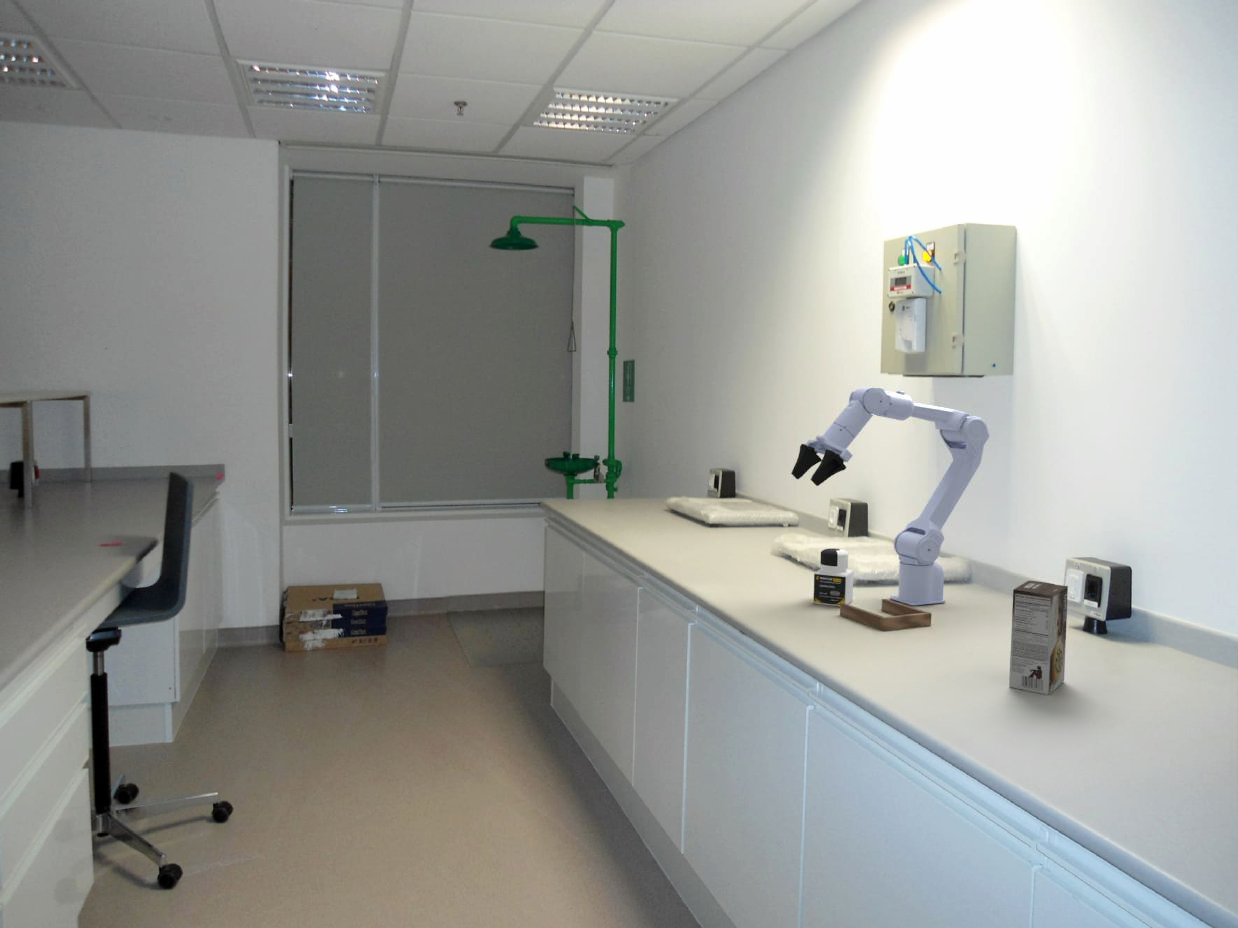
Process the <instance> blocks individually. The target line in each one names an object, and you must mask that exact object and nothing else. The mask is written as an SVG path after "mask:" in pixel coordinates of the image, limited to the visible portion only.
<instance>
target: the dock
mask: <svg viewBox="0 0 1238 928" xmlns="http://www.w3.org/2000/svg"><path fill="white" fill-rule="evenodd" d="M882 610H883V611H882ZM881 611H882V612H884V611H885V613H887V614H890V613H891V616H882V615H879V614H877V613H874V612H872V611H868V610H866V609H862V608H860V607H856V606H854V605H851V604H845V603H840V606H839V616H841V617H843V618H846V619H850V620H853V621H854V622H858V623H861V624H863V625H866V626H869V627H872V628H874V629H877V630H880V631H882V632H886V631H893V630H894V631H895V630H902V629H904V630H905V629H912V628H921V627H928V626H932V612H928V611H925V610H923V609H920V608H916V607H914V606H911V605H910V606H909V605H908V604H905V603H901V602H898V601H897V602H896V601H895V600H892V599H887V598H882V599H881ZM896 615H897V616H896Z"/></svg>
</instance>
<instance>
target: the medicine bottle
mask: <svg viewBox="0 0 1238 928" xmlns="http://www.w3.org/2000/svg"><path fill="white" fill-rule="evenodd" d="M819 566H820V569H818V570H816V571H815V572H814V576H813V604H814V603H815V604H816V605H823V606H832V607H840V603H845V604H848V605H850V603H851V602H853V597H854V596H853V595H854V594H853V593H854V570H852V569H848V568H849V552H848V551H847V550H845V549H842V548H825V549H823V550H821V551H820V564H819Z"/></svg>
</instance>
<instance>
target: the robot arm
mask: <svg viewBox="0 0 1238 928" xmlns="http://www.w3.org/2000/svg"><path fill="white" fill-rule="evenodd" d="M905 393H906V392H905V391H902V390H896V392H893V391H888V390H885V388H883V387H860V388H857V389H856V390H854V391H851V392H850V394H849V397H848V398H849V399H848V404H847V405H846V407H845V408H844V409H843V410H842V411H841V413H840V414H839V415H838V416H837V417H836V418H835V420H834V421H833V422H832V423H831V425H830V426H829V427H828V429H826V431H825V432H824V434H823V435H816V437H815V439H812V440H811V439H808V441H807V442H805V443H801V445H800V446H799V453H798V457H797V460H796V462H795V464H794V466H793V468H792V470H791V475H792V477H793V478H795V479H796V480H800V479H801V478H802V477H803V476H804V475H805V474H806V473H807V472H808V471H809V470H810V469H811V468H812V467H813V466H815V465H816V464H819V463H820V464H819V465H818V467H817V468H816V470H815V471H814V473H813V474H812V476H811V478H810V481H811V482H812V483H813V484H814V485H815V486H816V487H818V486H820V485H821V484H823V483H824V482H825V481H827V480H828V479H829V478H831V477H832V476H834V475H836V474H838V473H840V472H843V471H845V470H846V469H847V466H846V465H845V463H848V462H849V461H851V458H852V457H853V454H852V453H851V451H850V450H848V447H849V446H850V445H851V444H852V443H853V441H854V440H855V439H856V438H857V436H858V435H859V434H860V432H861V431H862V430H863V429H864V427H865V426H866V425H867V424H868V422H869V421H870V420H871V419H872V417H874V416H877V417H882V418H887V419H892V420H897V421H902V422H903V421H906V420H907V419H909V418H911V417H912V418H915V419H920V420H924V421H928V422H933V423H934V424H935V425H934V426H935V429H936V430H938V432H939V435H940V437H941V439H942V440H943V442H944V444H945V446H946V447H947V449H948V451H949V453H950V454H951V456H952V461H951V463H950V465H949V467H948V468H947V470H946V472H945V473H944V474H943V476H942V478H941V479H940V482H939V483H938V485H937V487H936V488H935V490H934V491H933V493H932V495H931V496H930V498H929V500H928V501H927V503H926V504H925V506H924V508H923V509H922V512H921V514H920V515H919V516H918V517H917V518H915V519H914V520H912V521H910V522H909V523H907V525H906V526H905V528H904V529H903V530H901V531H900V532H899V533H897V535H896V536H895V538H894V541H893V548H894V551H895V553H896V554H897V555H898V560H899V567H898V568H899V569H898V571H899V573H898V595H892V596H889V600H892V601H897V602H899V603H902V604H905V605H908V606H909V605H910V606H912V607H914V606H915V607H916V606H923V605H924V606H925V605H932V604H940V603H941V604H943V603H946V599H944V587H945V586H944V581H945V573H944V570H943V567H942V565H941V564H940V563H939V562H937V559H938V558H939V557H940V554H941V549H942V548H941V547H942V545H943V542H944V541H945V535H944V534H943V531H942V529H943V527H944V526H945V524H946V522H947V520H948V519H949V517H950V516H951V513H952V512H953V510H954V509H955V507H956V506H957V504H958V502H959V500H960V499H961V497H962V496H963V494H964V492H965V491H966V489H967V487H968V486H969V483H970V482H971V480H972V479H973V477H974V475H975V473H976V472H977V470H978V469H979V467H980V465H981V462H982V458H983V454H984V453H983V452H984V446H985V444H986V443H987V441H988V439H990V433H989V429H988V426H987V423H986V421H985V420H984V419H983V418H982V417H980V416H975V415H974V416H971V414H970V413H967V412H964V411H961V410H957V409H952V408H947V407H942V406H936V405H929V404H924V403H920V402H919V403H918V402H914V401H913V398H912V397H911V396H910V395H908V394H905ZM818 454H822V455H823V456H822V458H821V456H819V455H818Z"/></svg>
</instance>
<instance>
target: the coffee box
mask: <svg viewBox="0 0 1238 928" xmlns="http://www.w3.org/2000/svg"><path fill="white" fill-rule="evenodd" d="M1068 588H1069V586H1068V585H1062V584H1055V583H1051V582H1045V581H1037V580H1027V581H1025V582H1023V583H1022V584H1020V585H1018V586H1017V587H1015V588H1013V590H1012V608H1011V609H1012V614H1011V632H1010V633H1011V635H1010V636H1011V637H1010V638H1011V639H1010V657H1009V683H1008V686H1009V688H1013V689H1018V690H1021V691H1027V692H1033V693H1037V694H1042V695H1047V696H1048V695H1051V694H1052V693H1053V692H1054V691H1055V690H1056V689H1057V688H1058V687H1059V686H1061V684H1063V682H1065V671H1066V670H1065V669H1066V666H1065V664H1066V642H1067V621H1068V620H1067V618H1068V617H1067V615H1068V596H1069V595H1068V590H1069V589H1068Z"/></svg>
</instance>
